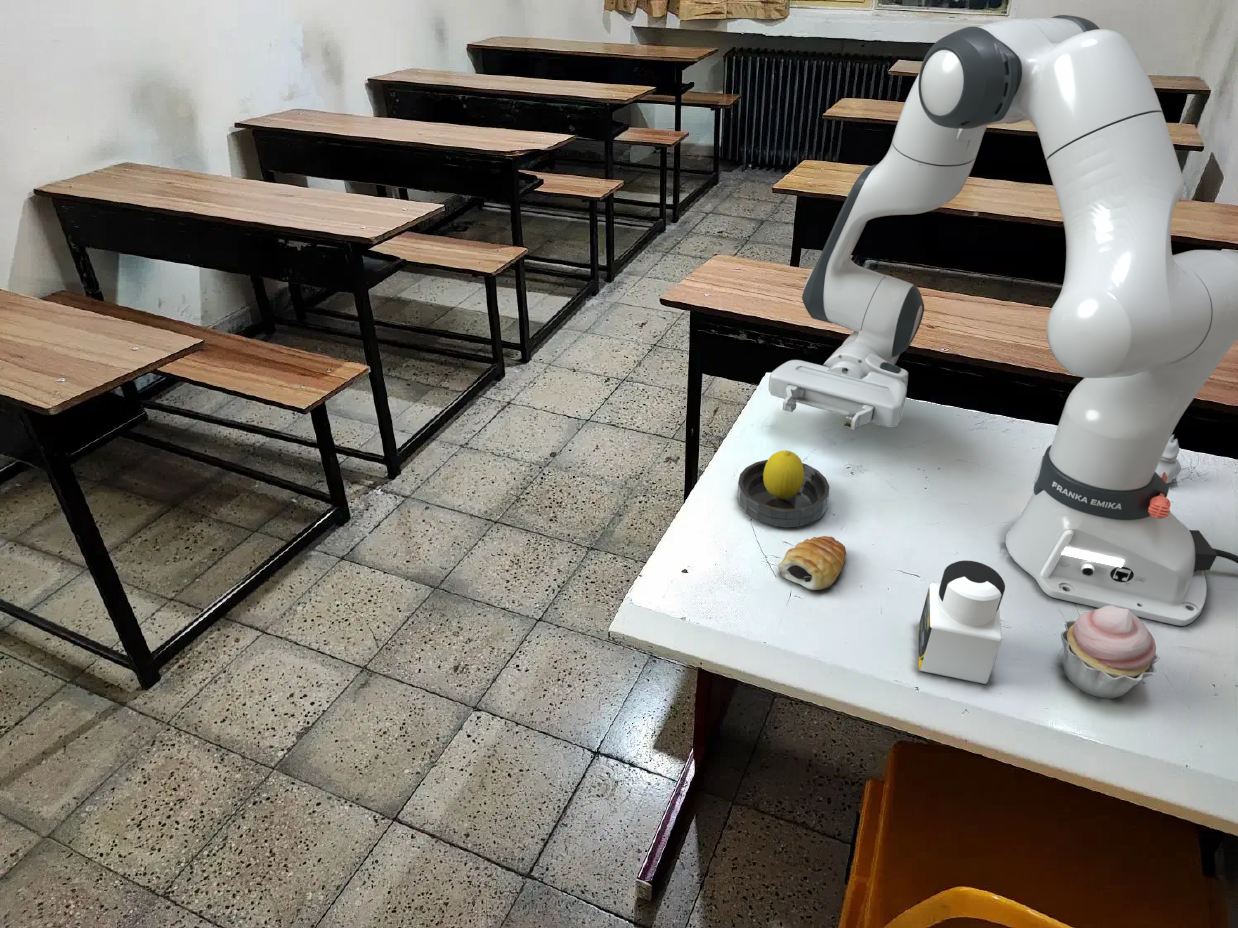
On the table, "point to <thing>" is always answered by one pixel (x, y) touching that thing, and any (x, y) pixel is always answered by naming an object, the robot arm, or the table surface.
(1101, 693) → the cupcake
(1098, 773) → the table surface
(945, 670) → the medicine bottle
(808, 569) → the pastry
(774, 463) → the lemon
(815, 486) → the shallow dish
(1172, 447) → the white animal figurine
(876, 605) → the table surface
